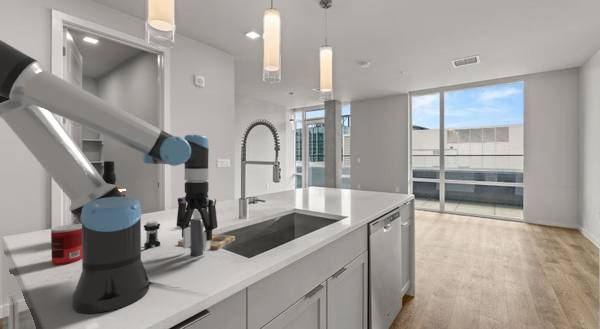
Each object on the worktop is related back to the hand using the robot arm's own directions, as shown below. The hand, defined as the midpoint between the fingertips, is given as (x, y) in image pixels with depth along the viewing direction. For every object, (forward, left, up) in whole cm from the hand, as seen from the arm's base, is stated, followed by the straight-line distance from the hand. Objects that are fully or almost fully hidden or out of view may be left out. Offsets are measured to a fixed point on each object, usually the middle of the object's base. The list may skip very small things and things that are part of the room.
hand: (196, 248), depth 89 cm
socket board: (+12, +5, -3) cm, 13 cm away
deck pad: (0, 0, -3) cm, 3 cm away
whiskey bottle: (+9, +51, -3) cm, 52 cm away
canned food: (-15, +38, -3) cm, 41 cm away
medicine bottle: (+38, +27, -3) cm, 47 cm away
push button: (+1, +21, -3) cm, 21 cm away
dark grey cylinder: (0, 0, -2) cm, 2 cm away
